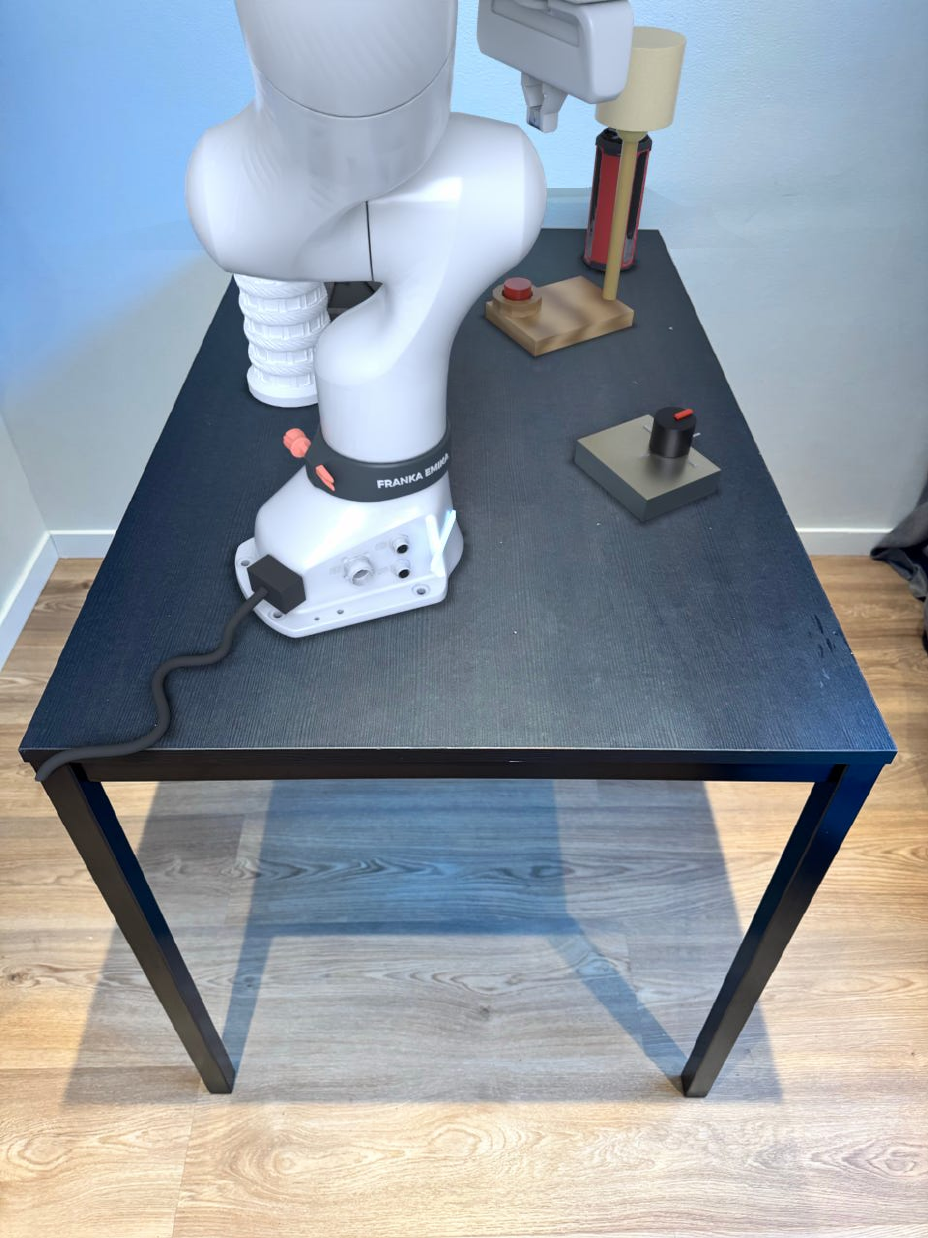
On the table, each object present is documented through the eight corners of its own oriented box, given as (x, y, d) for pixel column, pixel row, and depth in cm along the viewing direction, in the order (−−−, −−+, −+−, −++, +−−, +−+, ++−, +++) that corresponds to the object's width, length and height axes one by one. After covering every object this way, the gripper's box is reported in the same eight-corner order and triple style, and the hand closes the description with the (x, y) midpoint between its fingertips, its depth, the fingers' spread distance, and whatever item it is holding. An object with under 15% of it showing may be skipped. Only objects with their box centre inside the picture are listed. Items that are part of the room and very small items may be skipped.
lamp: (602, 319, 112) (638, 52, 91) (561, 291, 117) (586, 32, 96) (657, 302, 115) (704, 41, 94) (615, 275, 120) (650, 22, 99)
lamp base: (533, 357, 113) (535, 328, 110) (482, 316, 120) (483, 288, 117) (632, 325, 119) (636, 297, 116) (578, 289, 126) (581, 262, 123)
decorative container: (331, 410, 104) (313, 261, 91) (236, 403, 105) (205, 255, 92) (351, 360, 112) (338, 216, 99) (263, 353, 113) (238, 210, 100)
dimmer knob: (668, 462, 93) (674, 432, 90) (640, 442, 95) (646, 412, 93) (698, 449, 94) (706, 419, 92) (670, 429, 97) (677, 399, 94)
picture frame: (432, 326, 118) (439, 259, 132) (432, 312, 116) (439, 246, 131) (313, 323, 118) (333, 257, 132) (311, 309, 116) (332, 244, 131)
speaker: (611, 279, 128) (629, 146, 115) (572, 261, 132) (585, 131, 119) (644, 263, 132) (665, 133, 119) (604, 246, 136) (621, 119, 123)
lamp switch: (513, 304, 115) (513, 292, 114) (498, 293, 117) (498, 280, 116) (535, 298, 117) (536, 285, 115) (520, 287, 119) (521, 274, 117)
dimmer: (642, 522, 91) (647, 498, 88) (574, 462, 98) (577, 438, 95) (731, 485, 95) (738, 461, 93) (659, 430, 102) (664, 406, 100)
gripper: (461, -61, 82) (460, 103, 92) (592, -17, 70) (575, 166, 80) (518, -67, 85) (510, 94, 95) (654, -25, 73) (629, 154, 83)
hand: (541, 128), depth 87 cm, fingers closed
